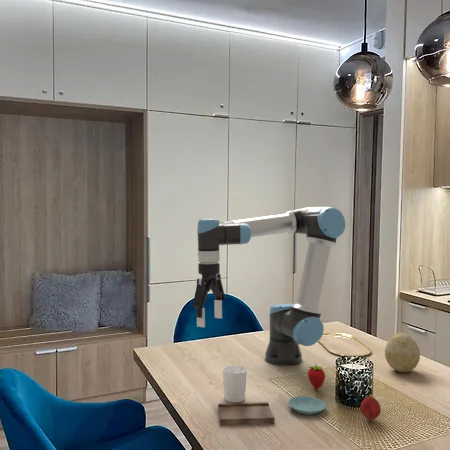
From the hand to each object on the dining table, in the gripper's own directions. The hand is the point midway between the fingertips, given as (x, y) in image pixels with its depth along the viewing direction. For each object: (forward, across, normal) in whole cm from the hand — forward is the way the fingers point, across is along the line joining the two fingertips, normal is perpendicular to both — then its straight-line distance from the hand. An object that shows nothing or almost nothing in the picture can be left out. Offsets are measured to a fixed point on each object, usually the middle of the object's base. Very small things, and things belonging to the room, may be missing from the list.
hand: (209, 322), depth 171 cm
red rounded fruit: (+24, +4, +56) cm, 61 cm away
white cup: (+23, +7, +12) cm, 27 cm away
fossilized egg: (+24, -44, +60) cm, 79 cm away
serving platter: (+24, -68, +33) cm, 79 cm away
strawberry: (+24, -12, +35) cm, 44 cm away
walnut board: (+23, +18, +21) cm, 36 cm away
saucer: (+24, +5, +36) cm, 44 cm away
